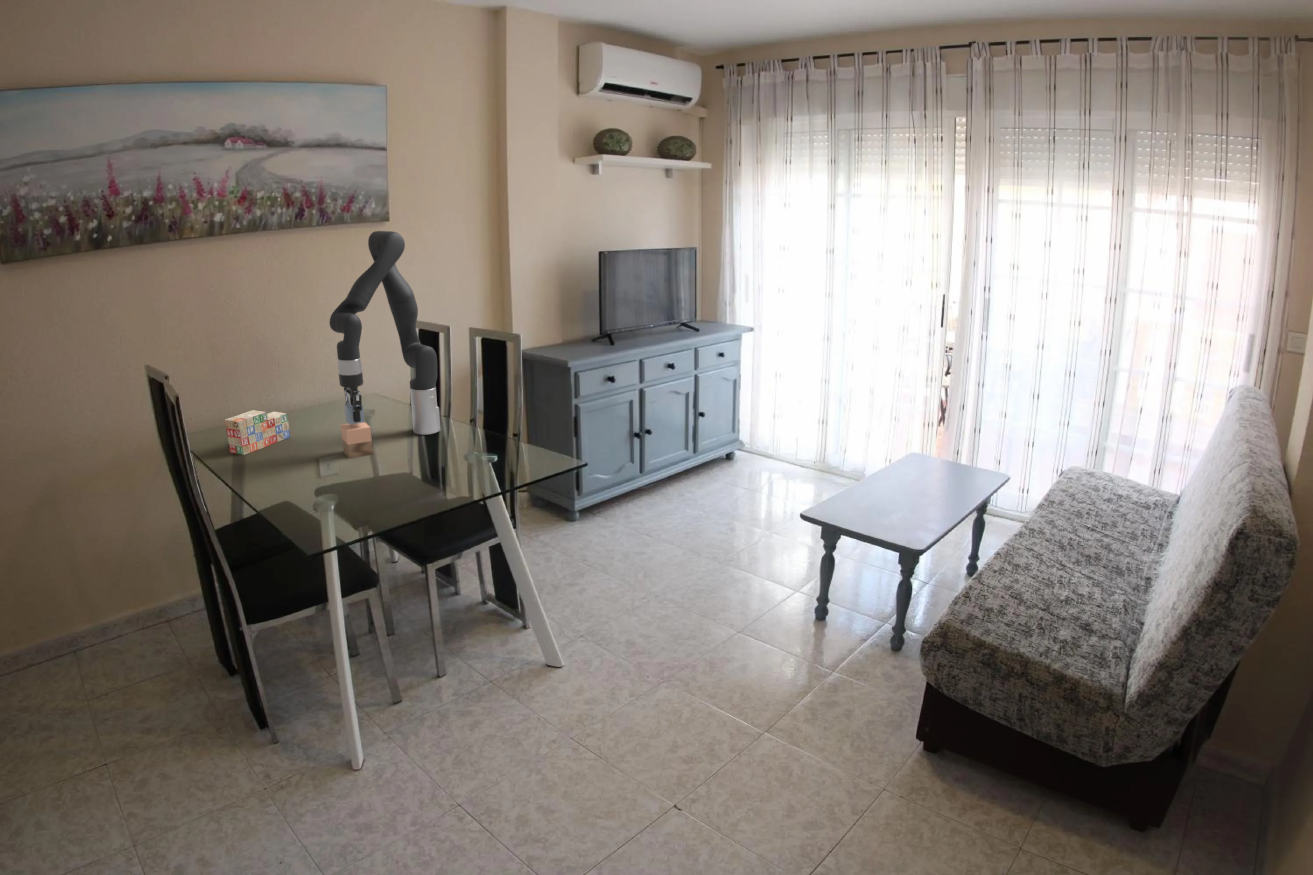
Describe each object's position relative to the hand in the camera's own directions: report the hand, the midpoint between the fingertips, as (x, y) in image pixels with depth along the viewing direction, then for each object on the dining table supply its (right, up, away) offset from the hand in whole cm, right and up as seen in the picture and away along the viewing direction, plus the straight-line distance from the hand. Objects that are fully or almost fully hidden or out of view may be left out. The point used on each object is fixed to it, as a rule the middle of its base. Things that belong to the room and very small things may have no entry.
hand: (355, 419), depth 277 cm
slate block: (0, -1, 0) cm, 1 cm away
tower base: (0, -12, +4) cm, 12 cm away
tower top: (0, -7, +2) cm, 7 cm away
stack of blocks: (-37, -9, +10) cm, 40 cm away
